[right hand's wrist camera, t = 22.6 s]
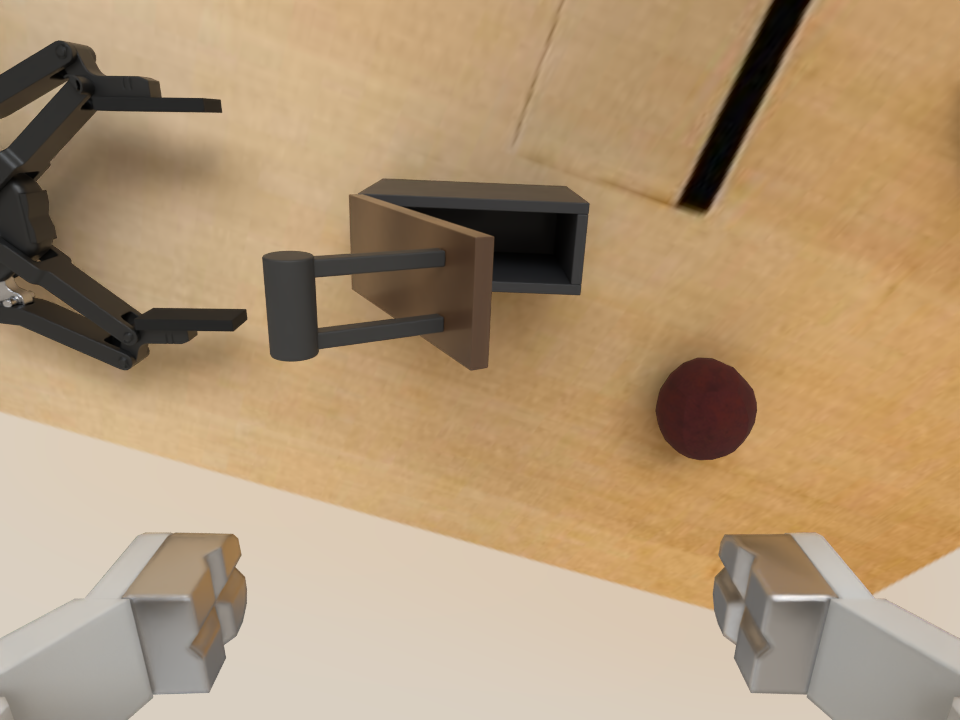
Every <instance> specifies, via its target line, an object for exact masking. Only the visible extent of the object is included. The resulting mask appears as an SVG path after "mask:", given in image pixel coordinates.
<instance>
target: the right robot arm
mask: <svg viewBox="0 0 960 720" xmlns="http://www.w3.org/2000/svg"><path fill="white" fill-rule="evenodd" d="M240 557H241V550H240V545H239V540H238V538H237V537H236V536H235V535H233V534H213V533H143V534H141V535H138V536H137V537H136V538H135V539H134V540H133V542H132V543H131V544H130V545H129V546H128V548H127V549H126V550H125V551H124V552H123V554H122V555H121V556H120V557H119V558H118V559H117V561H116V562H115V563H114V564H113V565H112V567H111V568H110V569H109V570H108V571H107V573H106V574H105V575H104V576H103V577H102V579H101V580H100V581H99V582H98V583H97V585H96V586H95V587H94V588H93V589H92V590H91V592H90V593H89V594H88V595H87V596H86V598H85V599H73V600H72V601H70V602H68V603H66V604H64V605H62V606H60V607H58V608H56V609H55V610H53V611H51V612H49V613H47V614H45V615H43V616H41V617H40V618H38V619H36V620H34V621H32V622H30V623H28V624H26V625H25V626H23V627H21V628H19V629H17V630H15V631H13V632H11V633H10V634H8V635H6V636H4V637H2V638H0V720H128V719H129V718H130V717H131V716H133V715H134V714H135V713H136V712H137V711H138V710H139V709H141V708H142V707H143V706H144V705H145V704H146V703H147V702H149V701H150V700H151V699H152V698H153V694H186V693H209V692H210V690H211V688H212V686H213V684H214V682H215V680H216V678H217V675H218V673H219V671H220V669H221V667H222V665H223V663H224V661H225V659H226V655H225V650H224V645H225V644H226V643H227V642H229V641H230V640H232V639H233V638H234V637H236V636H237V633H238V631H239V629H240V627H241V625H242V622H243V618H244V614H245V609H246V604H247V587H246V580H245V577H244V576H243V574H241V573H240V571H238V570H237V568H236V567H235V566H236V564H237V562H238V561H239V559H240ZM719 557H720V559H721V561H722V562H723V564H724V566H725V567H724V568H723V569H722V570H721V571H720V572H719V573H718V574H717V575H716V577H715V581H714V589H713V601H714V611H715V615H716V618H717V622H718V625H719V627H720V629H721V631H722V633H723V636H724V637H726V638H727V639H728V640H730V641H731V642H733V643H734V644H735V645H736V650H735V655H734V659H735V661H736V663H737V665H738V667H739V669H740V671H741V673H742V675H743V677H744V680H745V682H746V684H747V686H748V688H749V690H750V692H751V693H773V694H807V698H808V699H809V700H811V701H812V702H813V703H814V704H815V705H816V706H817V707H819V708H820V709H821V710H822V711H823V712H824V713H826V714H827V715H828V716H829V717H830V718H831V719H832V720H960V638H958V637H956V636H954V635H952V634H950V633H948V632H947V631H945V630H943V629H941V628H939V627H937V626H935V625H933V624H932V623H930V622H928V621H926V620H924V619H922V618H920V617H918V616H917V615H915V614H913V613H911V612H909V611H907V610H905V609H903V608H902V607H900V606H898V605H896V604H894V603H892V602H890V601H888V600H887V599H875V598H874V596H873V595H872V594H871V593H870V592H869V590H868V589H867V588H866V587H865V586H864V585H863V583H862V582H861V581H860V580H859V579H858V577H857V576H856V575H855V574H854V573H853V571H852V570H851V569H850V568H849V567H848V566H847V564H846V563H845V562H844V561H843V560H842V558H841V557H840V556H839V555H838V554H837V552H836V551H835V550H834V549H833V548H832V547H831V545H830V544H829V543H828V542H827V541H826V539H825V538H824V537H823V536H822V535H820V534H818V533H816V532H806V533H785V534H731V535H724V537H723V539H722V541H721V544H720V549H719Z"/></svg>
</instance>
